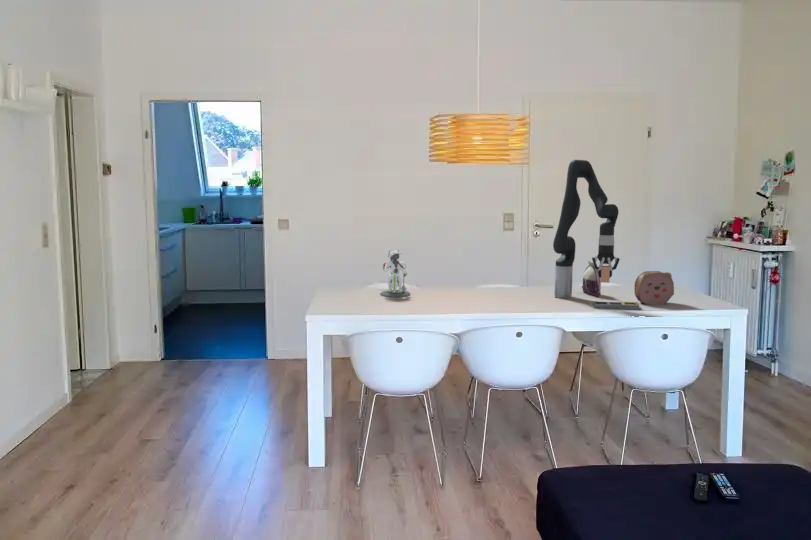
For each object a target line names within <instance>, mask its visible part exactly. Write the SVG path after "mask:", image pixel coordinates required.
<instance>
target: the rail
mask: <svg viewBox="0 0 811 540" xmlns="http://www.w3.org/2000/svg"><path fill="white" fill-rule="evenodd" d="M592 307H593V308H594V309H610V310H611V309H612V310H640V304H639V303H638V302H637V301H620V302H619V301H599V300H596V301H592Z"/></svg>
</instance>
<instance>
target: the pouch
mask: <svg viewBox="0 0 811 540" xmlns="http://www.w3.org/2000/svg"><path fill="white" fill-rule="evenodd" d="M587 263H588V266H587V267H585V271H584V273H583V277H582V286H581V288H582V292H583V293H585V294H589V295H592V296H594V297H597V298H600V297H601V292H602V291H601V289H602V282H601V281H600V276H598V269H595V267H594V263H593V262H591V261H589V260H588V262H587Z"/></svg>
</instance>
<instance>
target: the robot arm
mask: <svg viewBox="0 0 811 540" xmlns="http://www.w3.org/2000/svg"><path fill="white" fill-rule="evenodd" d="M566 175H567V177H566V186H565V191H564V198H563V201H562V207H561V212H560V217H559V220H558V225H557V228H556V229H557V230H556V232H555V236H554V239H553V243H552V247H553V250H554V252H555V253H556V254H557V255H558V254H559V255H560V254H561V255H560V257H558V258H557V259H556V260H555V267H554V268H555V271H554V274H555V276H554V290H553V291H554V294H553V295H554V298H560V299H561V298H562V299H568V298H569V299H570V298H572V296H573V293H572V291H573V271H574V270H573V269H574V267H573V266H574V262H575V258H576V246H577V245H576V241H575V239H574V237H572V236H569V231H570V229H571V228H572V226H573V225H574V223H575V221H576V219H577V218H578V216H579V215H580V214H579V213H580V209H581V199H580V198H581V197H580V194H579V193H578V189H577V186H578V185H577V184H578V179H581V178H583V179H585V181H586V182H587V184H588V188H587V189H588V190H587V191H588V192H587V193H588V196H589V197H590V199H591V200H592V202H593V204H594V207H595V213H596V215H597V216H598V217H599V218H600V219H606V221H605V222H602V223H600V225H599V238H598V249H597V250H598V253H597V256H593V257H591V259H592V263H593V264H594V267H595V269H597V270H598V276H600V278H601V268H602V266H604V265H607V266H609V267H610V277H609V279H611V278H612V276H613V271H614V270H617V267H618V265H619V263H620V257H616V256H615V255H614V254H615V253H614V251H615V227H616V224H617V220H618V216H619V208H618V206H617V205H616V204H615V203H612V204H611V203H610V204H607V203H608V199H609V198H608V196H607V195H606V193H605V192H604V190H603V189H602V186H601V185H600V184H599V181H598V178H597V175H596V172H595V170H594V168H593V166H592V164H591V162H590V161H588V160H586V159H585V160H583V159H572V160H571V161H570V162H569V164H568V168H567V174H566ZM613 260H614V265H613V266H612V262H613ZM597 261H599V265H597Z"/></svg>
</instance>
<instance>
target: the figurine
mask: <svg viewBox="0 0 811 540" xmlns="http://www.w3.org/2000/svg"><path fill="white" fill-rule="evenodd" d="M400 255H403V253H400V252H399V249H397V250H392V251H391V249H389V251H388V254H387V256H388V258H389V260H390V261H389V260H386V262H384V263H383V265H382V269H383V271H384V272H388V270H389V269H390V274H389V275H388V276H387V286H388V289H387V290H382V291H381V292H380V294H379V295H380V296H382V297H385V298H386V297H387V298H403V297H404V298H406V297H409V296H411V293H410V291H408V290H407V289H408V288H407V287H406V286H405V277H407V275H408V272H407V271H406V268H407V267H406V266H407V264H405V263H406V261H399V259H400ZM400 271H402V275H403V276H401V274H400ZM402 277H403V278H402ZM402 279H403V280H402Z"/></svg>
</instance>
